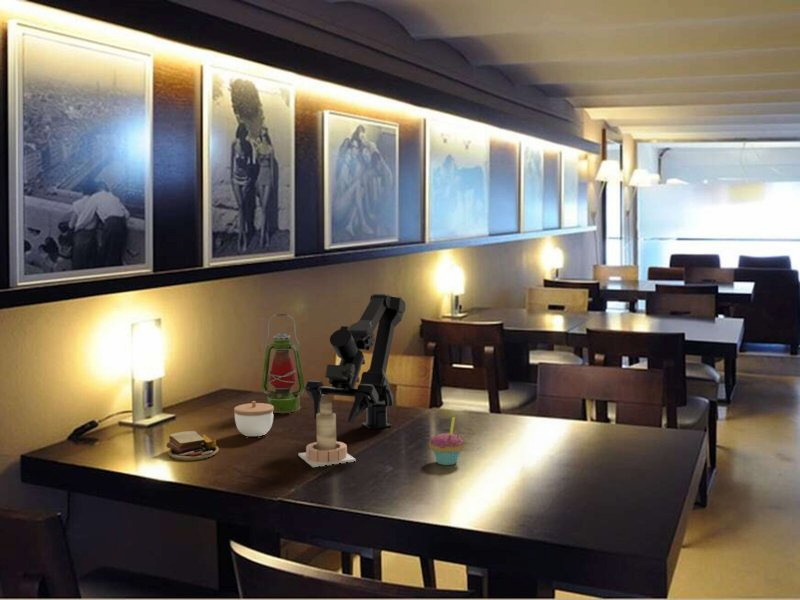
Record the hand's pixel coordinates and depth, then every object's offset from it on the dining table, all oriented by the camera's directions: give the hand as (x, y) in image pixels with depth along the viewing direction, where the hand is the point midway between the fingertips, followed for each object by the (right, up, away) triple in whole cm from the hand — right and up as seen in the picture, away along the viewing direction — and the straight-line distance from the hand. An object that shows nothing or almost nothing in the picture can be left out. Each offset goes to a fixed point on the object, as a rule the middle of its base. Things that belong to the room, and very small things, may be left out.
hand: (332, 420), depth 210 cm
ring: (-1, -9, -3) cm, 9 cm away
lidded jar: (-23, -7, +20) cm, 31 cm away
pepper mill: (-1, -8, -3) cm, 9 cm away
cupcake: (+28, -9, -6) cm, 30 cm away
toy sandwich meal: (-36, -9, +2) cm, 37 cm away
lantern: (-19, -4, +49) cm, 53 cm away
